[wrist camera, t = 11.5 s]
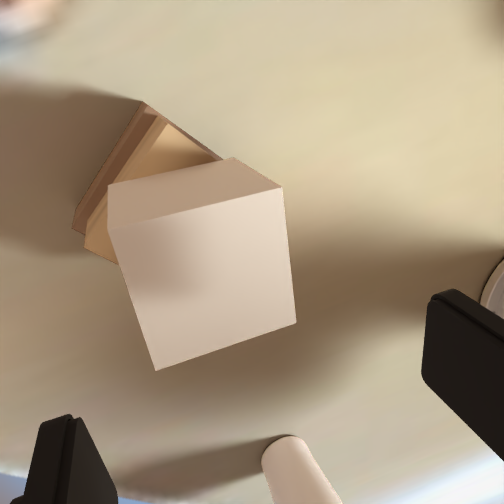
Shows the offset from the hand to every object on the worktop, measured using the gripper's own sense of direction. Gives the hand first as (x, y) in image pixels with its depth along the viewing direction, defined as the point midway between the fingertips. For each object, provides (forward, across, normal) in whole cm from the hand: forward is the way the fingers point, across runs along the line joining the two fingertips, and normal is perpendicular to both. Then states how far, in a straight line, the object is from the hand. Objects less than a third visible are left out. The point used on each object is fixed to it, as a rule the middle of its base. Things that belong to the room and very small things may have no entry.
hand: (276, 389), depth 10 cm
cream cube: (+11, 0, 0) cm, 11 cm away
